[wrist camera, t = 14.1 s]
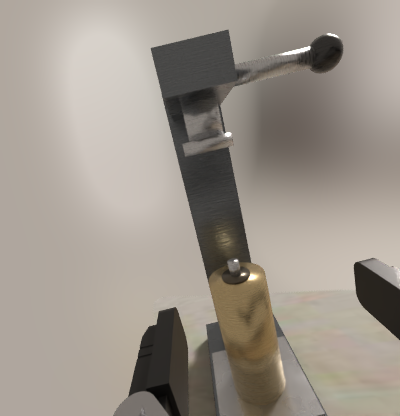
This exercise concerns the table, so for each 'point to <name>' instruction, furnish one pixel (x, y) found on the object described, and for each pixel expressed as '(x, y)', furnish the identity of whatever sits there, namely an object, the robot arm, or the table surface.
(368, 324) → the table surface
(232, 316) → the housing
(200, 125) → the press
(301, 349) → the table surface
